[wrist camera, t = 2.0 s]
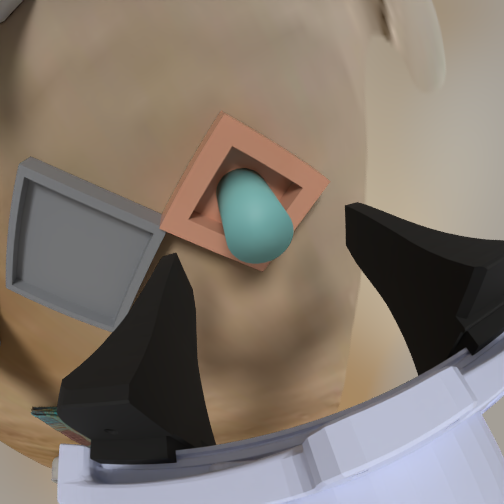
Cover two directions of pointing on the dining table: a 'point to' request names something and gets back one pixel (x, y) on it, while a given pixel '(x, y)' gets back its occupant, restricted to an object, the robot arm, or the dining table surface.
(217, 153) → the salmon square dish
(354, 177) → the dining table surface
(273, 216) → the pin
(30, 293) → the tray
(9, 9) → the flask
